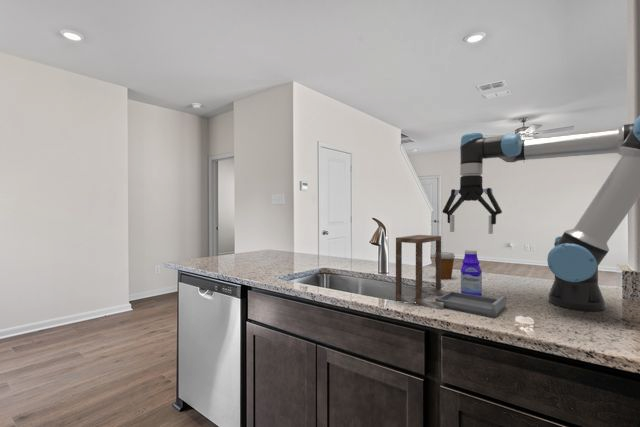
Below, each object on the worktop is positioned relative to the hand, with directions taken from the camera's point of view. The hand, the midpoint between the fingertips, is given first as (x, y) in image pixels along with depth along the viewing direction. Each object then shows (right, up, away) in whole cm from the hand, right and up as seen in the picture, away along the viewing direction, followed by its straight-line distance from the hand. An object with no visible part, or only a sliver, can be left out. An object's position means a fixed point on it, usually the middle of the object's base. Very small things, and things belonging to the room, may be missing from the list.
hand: (470, 232), depth 121 cm
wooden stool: (-17, -24, -4) cm, 29 cm away
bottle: (0, -24, 0) cm, 24 cm away
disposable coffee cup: (+3, -24, +33) cm, 41 cm away
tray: (-6, -24, -13) cm, 28 cm away
